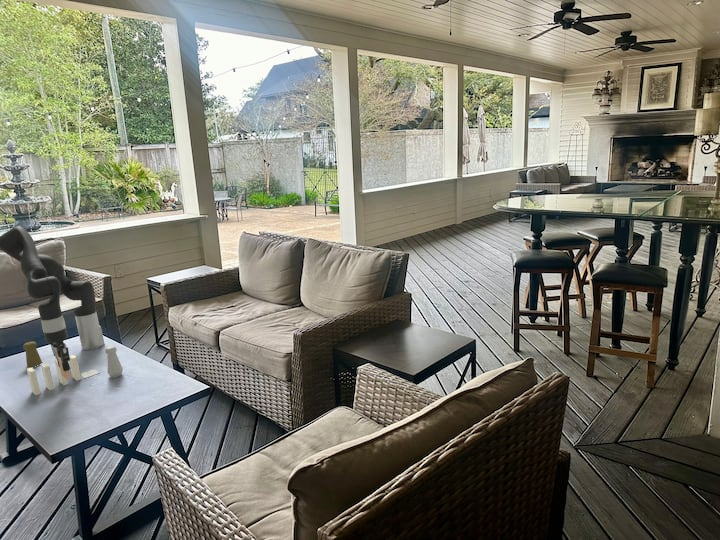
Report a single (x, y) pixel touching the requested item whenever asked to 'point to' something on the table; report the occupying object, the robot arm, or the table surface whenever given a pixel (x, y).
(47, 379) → the domino
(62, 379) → the domino
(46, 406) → the table surface
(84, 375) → the block
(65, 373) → the domino
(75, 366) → the domino
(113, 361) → the salt shaker
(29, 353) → the cork
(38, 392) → the domino
